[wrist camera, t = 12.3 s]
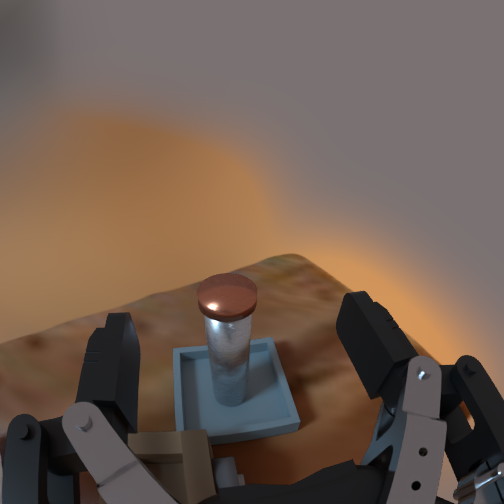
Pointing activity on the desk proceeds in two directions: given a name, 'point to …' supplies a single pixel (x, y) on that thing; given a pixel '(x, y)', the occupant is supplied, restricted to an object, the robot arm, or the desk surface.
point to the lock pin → (228, 333)
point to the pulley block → (184, 463)
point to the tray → (238, 417)
